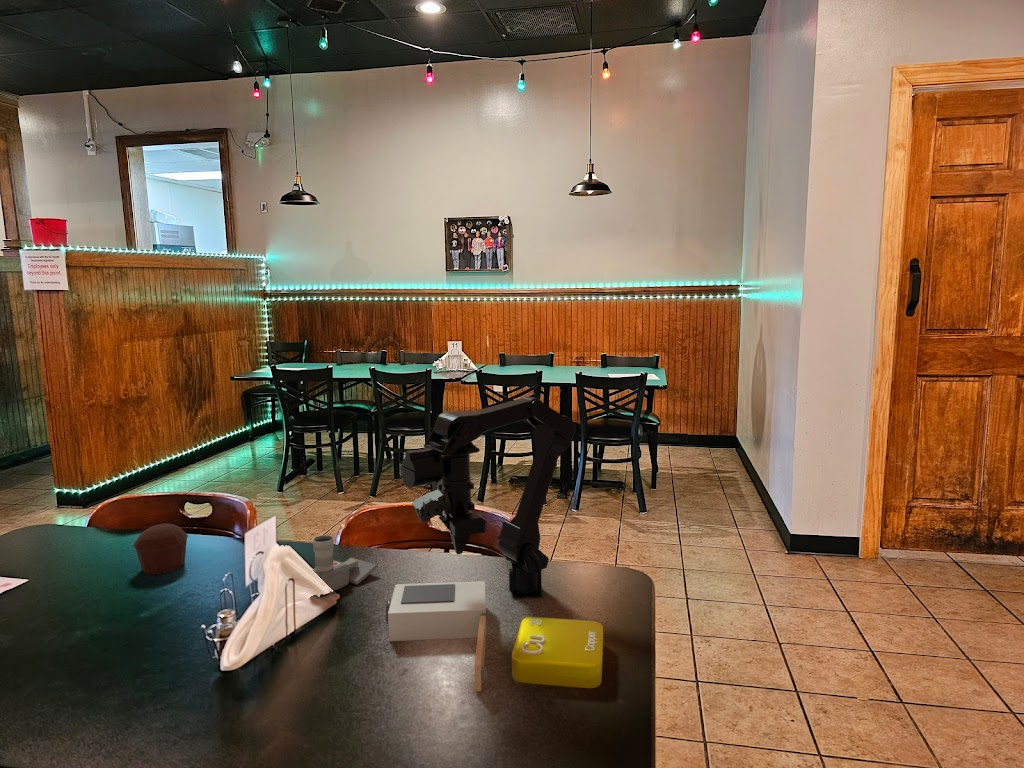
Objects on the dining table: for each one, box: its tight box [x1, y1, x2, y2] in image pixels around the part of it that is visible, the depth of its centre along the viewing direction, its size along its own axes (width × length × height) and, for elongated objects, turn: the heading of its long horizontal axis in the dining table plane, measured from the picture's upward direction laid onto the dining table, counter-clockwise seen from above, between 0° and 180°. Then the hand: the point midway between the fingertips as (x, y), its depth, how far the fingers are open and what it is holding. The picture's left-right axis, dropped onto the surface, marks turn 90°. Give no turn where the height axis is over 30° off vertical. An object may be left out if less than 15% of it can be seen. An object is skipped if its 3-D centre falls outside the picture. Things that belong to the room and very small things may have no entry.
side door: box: [473, 613, 487, 692], centre depth 113 cm, size 17×2×4 cm, turn 179°
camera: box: [312, 534, 379, 592], centre depth 145 cm, size 9×12×15 cm
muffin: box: [132, 523, 189, 575], centre depth 155 cm, size 12×11×10 cm
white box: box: [385, 580, 487, 642], centre depth 127 cm, size 19×12×6 cm, turn 93°
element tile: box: [511, 616, 604, 689], centre depth 114 cm, size 15×15×5 cm
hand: (459, 553), depth 129 cm, fingers closed
